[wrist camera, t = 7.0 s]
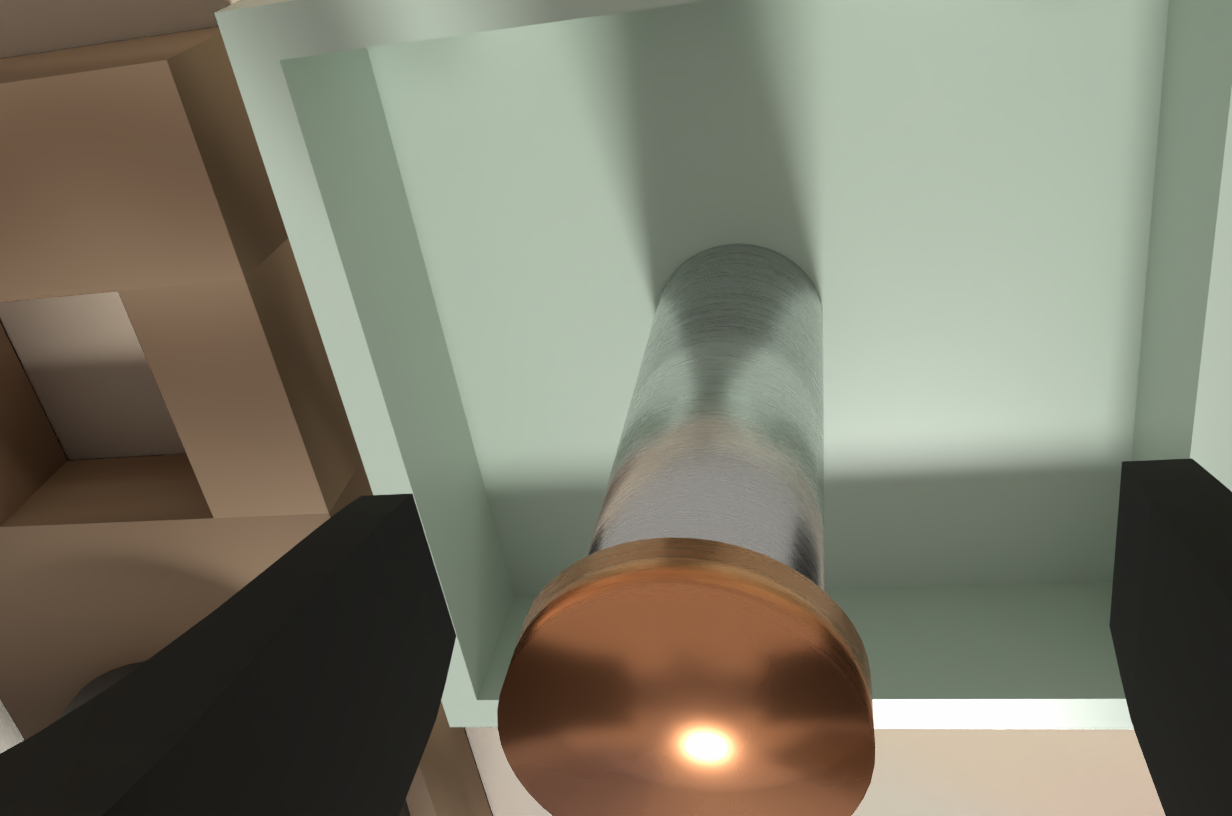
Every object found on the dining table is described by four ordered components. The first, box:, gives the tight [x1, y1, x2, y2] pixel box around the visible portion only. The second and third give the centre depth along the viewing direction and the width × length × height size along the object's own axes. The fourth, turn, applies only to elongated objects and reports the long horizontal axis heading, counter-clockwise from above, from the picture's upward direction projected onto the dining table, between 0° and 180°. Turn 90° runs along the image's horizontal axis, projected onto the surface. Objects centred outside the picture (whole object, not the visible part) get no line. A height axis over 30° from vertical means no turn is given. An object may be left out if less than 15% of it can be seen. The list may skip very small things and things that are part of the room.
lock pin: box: [497, 243, 875, 816], centre depth 13 cm, size 3×3×8 cm
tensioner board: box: [0, 26, 492, 816], centre depth 19 cm, size 18×8×6 cm, turn 9°
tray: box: [214, 0, 1232, 730], centre depth 15 cm, size 11×11×3 cm
